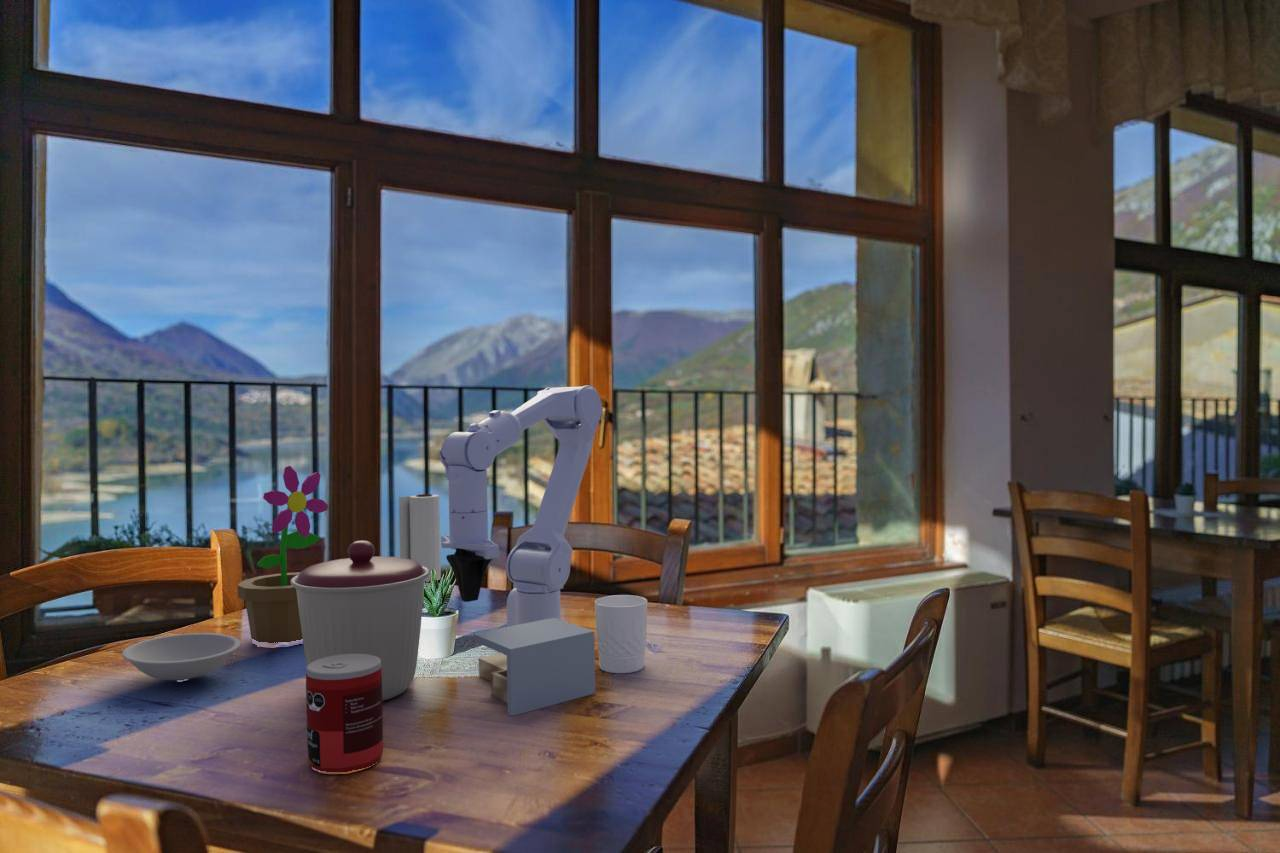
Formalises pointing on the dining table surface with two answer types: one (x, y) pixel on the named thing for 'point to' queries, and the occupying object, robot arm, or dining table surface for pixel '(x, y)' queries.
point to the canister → (364, 611)
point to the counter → (544, 662)
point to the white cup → (621, 632)
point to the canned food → (344, 712)
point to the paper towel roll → (420, 531)
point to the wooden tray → (495, 674)
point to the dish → (181, 654)
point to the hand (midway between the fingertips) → (469, 600)
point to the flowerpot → (274, 594)
